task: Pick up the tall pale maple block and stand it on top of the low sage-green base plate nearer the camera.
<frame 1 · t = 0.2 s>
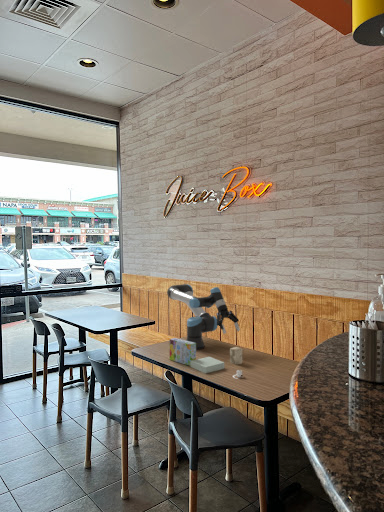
hand: (232, 331, 293), 16 cm above the table, tool tilted 35°, fingers open, 13 cm apart
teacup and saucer: (243, 377, 245), on the table
snack box: (182, 362, 273), on the table
maple block: (236, 362, 271), on the table
sage base plate: (207, 367, 261), on the table
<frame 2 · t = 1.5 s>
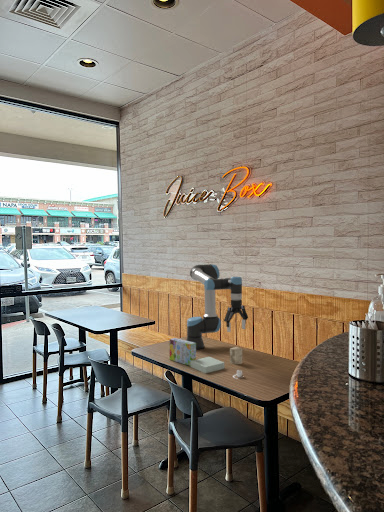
hand: (236, 330, 270), 23 cm above the table, tool pointing down, fingers open, 13 cm apart
nothing on the table moved.
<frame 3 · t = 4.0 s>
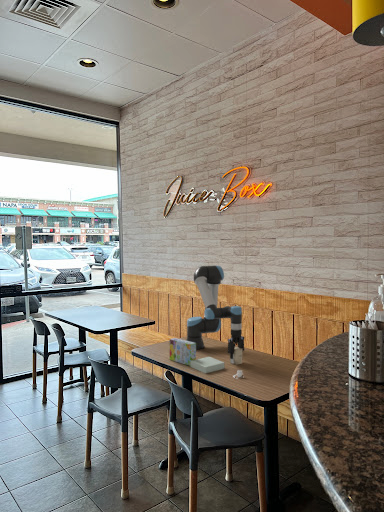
hand: (236, 362, 271), 0 cm above the table, tool pointing down, fingers closed on maple block, 6 cm apart
maple block: (236, 362, 271), on the table, touching gripper
everything else where it was.
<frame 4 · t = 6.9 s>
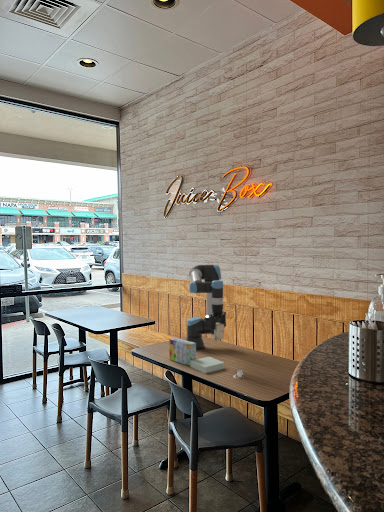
hand: (217, 338, 263), 19 cm above the table, tool pointing down, fingers closed on maple block, 6 cm apart
maple block: (217, 338, 263), point 18 cm above the table, touching gripper
everything else where it was.
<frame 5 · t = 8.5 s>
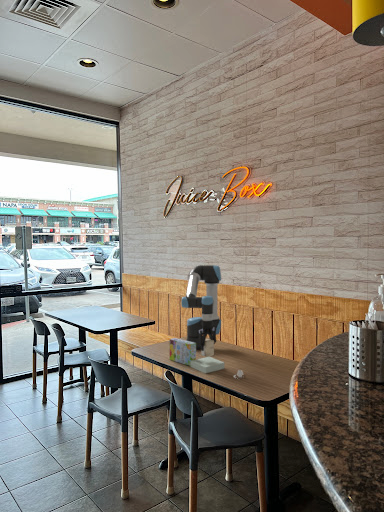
hand: (207, 354, 261), 9 cm above the table, tool pointing down, fingers closed on maple block, 6 cm apart
maple block: (207, 355, 261), point 8 cm above the table, touching gripper
everything else where it was.
when the fingers open (5 cm above the table, at t = 9.9 s): maple block stays where it is, resting on sage base plate.
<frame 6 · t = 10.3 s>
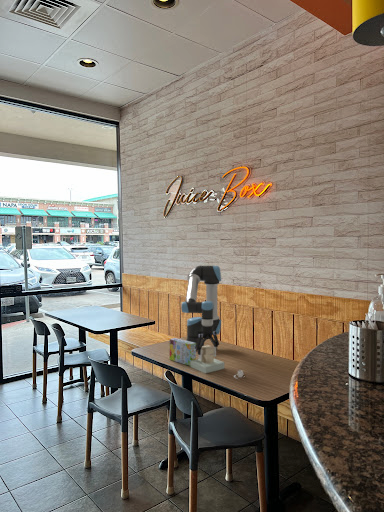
hand: (207, 357, 261), 7 cm above the table, tool pointing down, fingers open, 11 cm apart
maple block: (207, 361, 261), point 4 cm above the table, touching sage base plate
everything else where it was.
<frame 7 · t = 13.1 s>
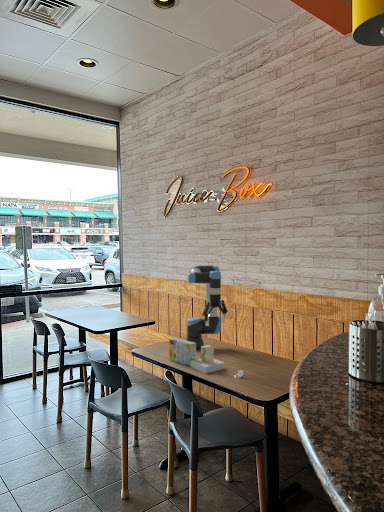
hand: (215, 324, 270), 26 cm above the table, tool pointing down, fingers open, 13 cm apart
nothing on the table moved.
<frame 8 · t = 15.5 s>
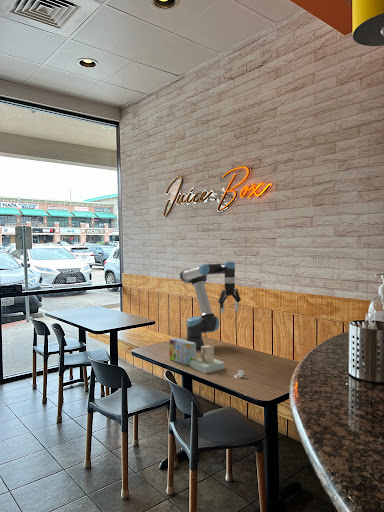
hand: (229, 311, 290), 32 cm above the table, tool pointing down, fingers open, 13 cm apart
at the end: maple block inside the target area on the sage base plate (0.0 cm from its centre), point 4.0 cm above the sage base plate's base; maple block tilted 0°; maple block touching sage base plate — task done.
